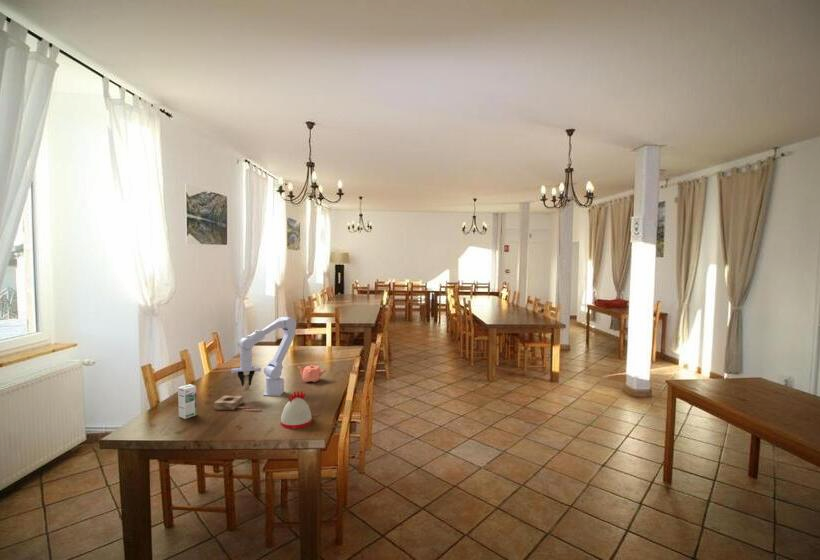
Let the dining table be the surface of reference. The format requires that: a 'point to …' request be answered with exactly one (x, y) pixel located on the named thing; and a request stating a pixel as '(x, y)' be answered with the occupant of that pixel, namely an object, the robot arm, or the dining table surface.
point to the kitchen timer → (296, 412)
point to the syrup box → (187, 401)
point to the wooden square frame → (228, 402)
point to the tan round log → (246, 382)
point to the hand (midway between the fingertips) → (246, 385)
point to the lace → (248, 409)
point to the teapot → (311, 373)
